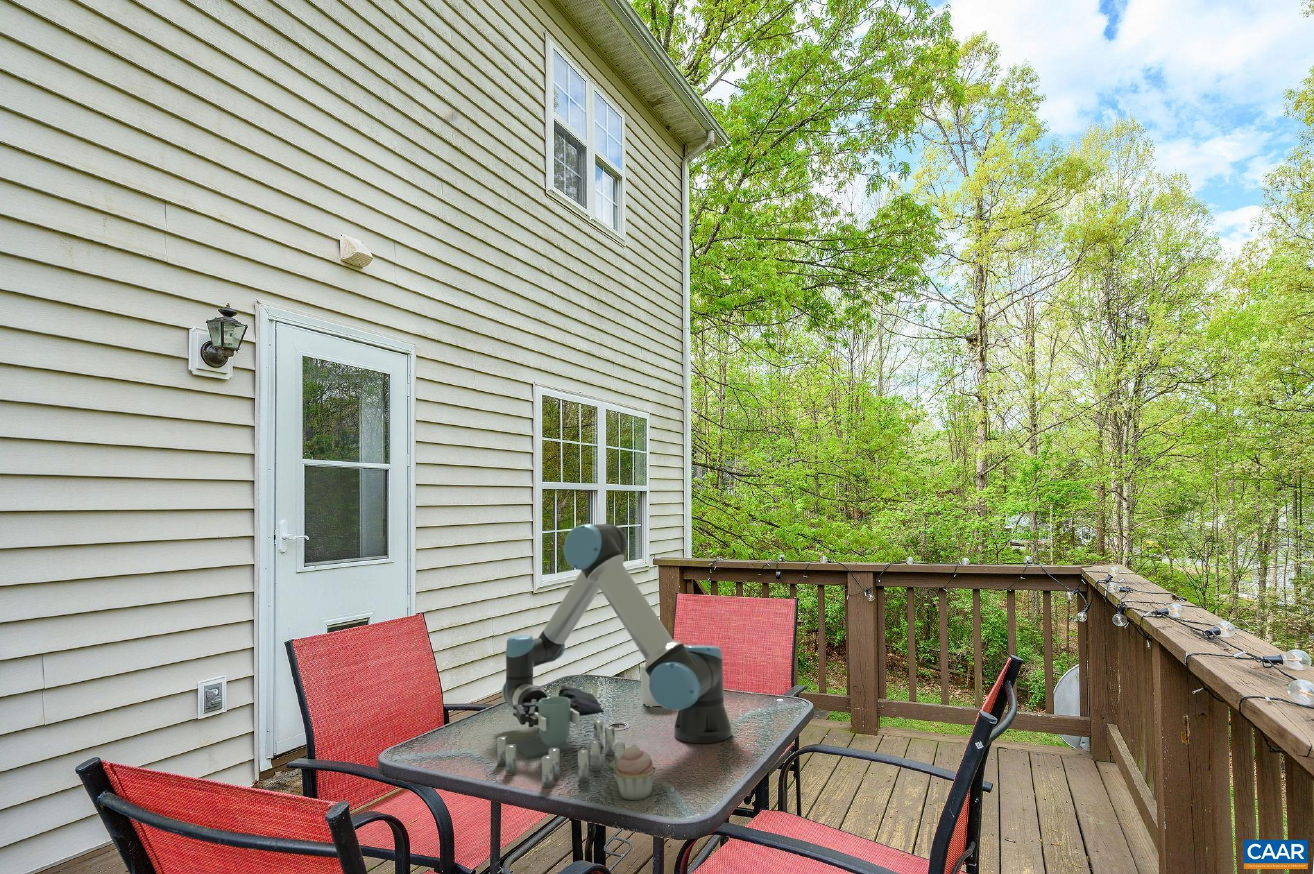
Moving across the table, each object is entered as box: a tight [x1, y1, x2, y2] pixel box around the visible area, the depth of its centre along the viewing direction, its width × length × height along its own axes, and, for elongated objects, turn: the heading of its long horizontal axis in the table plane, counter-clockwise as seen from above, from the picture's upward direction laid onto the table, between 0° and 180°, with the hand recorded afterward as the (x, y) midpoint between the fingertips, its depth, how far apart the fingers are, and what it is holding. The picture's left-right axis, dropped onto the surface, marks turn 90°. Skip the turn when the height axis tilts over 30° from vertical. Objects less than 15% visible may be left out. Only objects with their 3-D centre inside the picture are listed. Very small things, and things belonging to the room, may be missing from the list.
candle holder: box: [639, 661, 660, 706], centre depth 214 cm, size 10×10×12 cm
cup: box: [538, 696, 572, 745], centre depth 166 cm, size 8×8×10 cm
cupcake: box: [612, 743, 658, 801], centre depth 142 cm, size 9×9×10 cm
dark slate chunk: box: [557, 685, 604, 714], centre depth 214 cm, size 15×22×5 cm
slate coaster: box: [512, 737, 574, 759], centre depth 174 cm, size 12×12×1 cm
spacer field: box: [496, 719, 629, 789], centre depth 160 cm, size 22×32×6 cm
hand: (561, 721), depth 162 cm, fingers closed on cup, 8 cm apart
